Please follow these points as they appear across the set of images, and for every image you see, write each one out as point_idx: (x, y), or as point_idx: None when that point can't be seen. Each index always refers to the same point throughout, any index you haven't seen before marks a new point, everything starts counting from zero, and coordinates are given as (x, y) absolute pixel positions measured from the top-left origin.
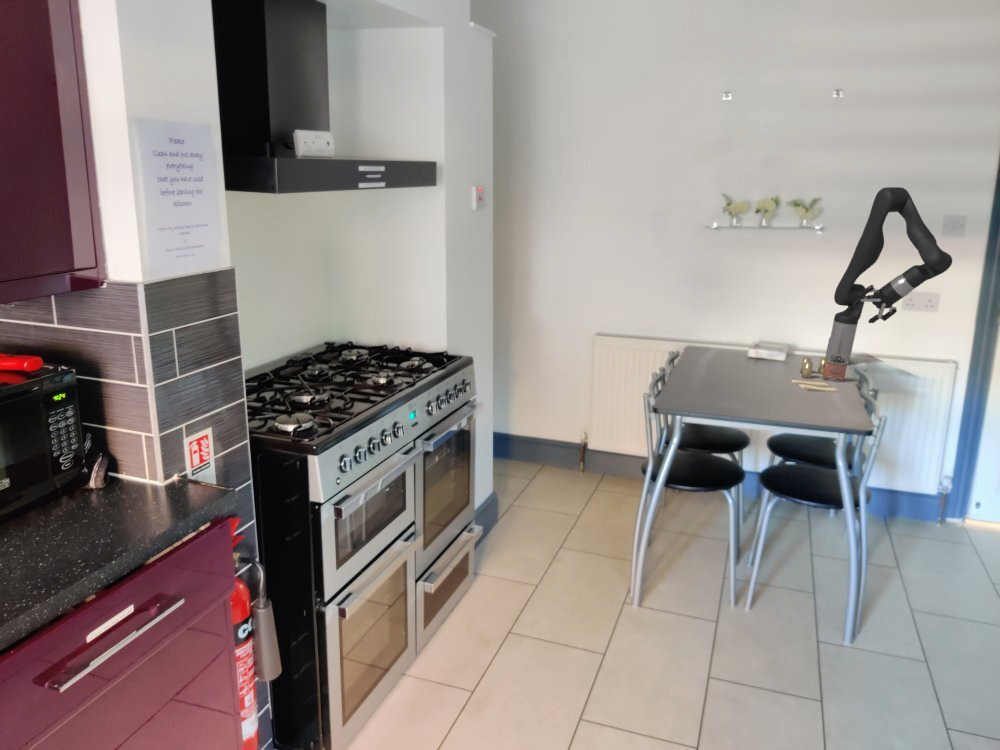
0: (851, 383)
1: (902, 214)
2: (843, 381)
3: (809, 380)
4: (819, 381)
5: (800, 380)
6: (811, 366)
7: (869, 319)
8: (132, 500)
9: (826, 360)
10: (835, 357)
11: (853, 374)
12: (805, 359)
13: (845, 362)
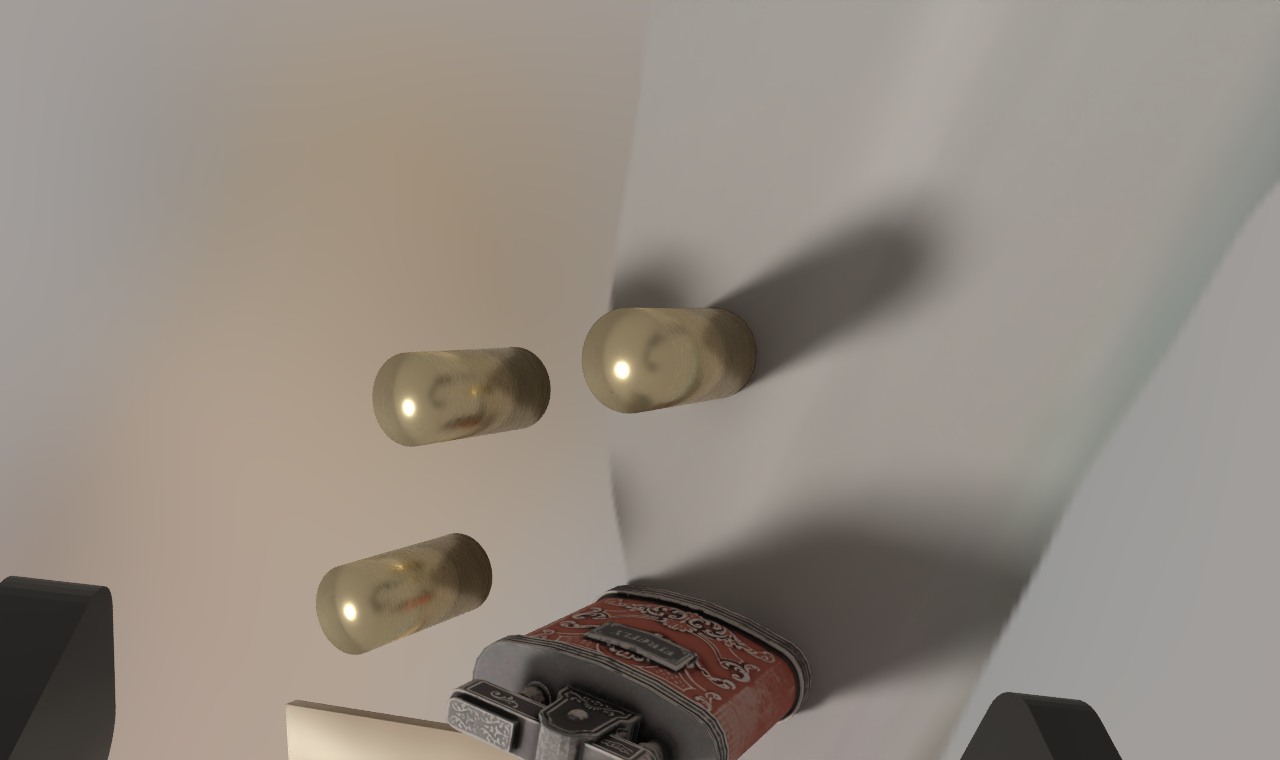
0: (882, 750)
1: None
2: (789, 717)
3: (420, 725)
4: (498, 757)
5: (343, 730)
6: (387, 643)
7: (1024, 714)
8: None
9: (481, 668)
10: (520, 750)
11: (1195, 292)
12: (389, 430)
13: (697, 750)
